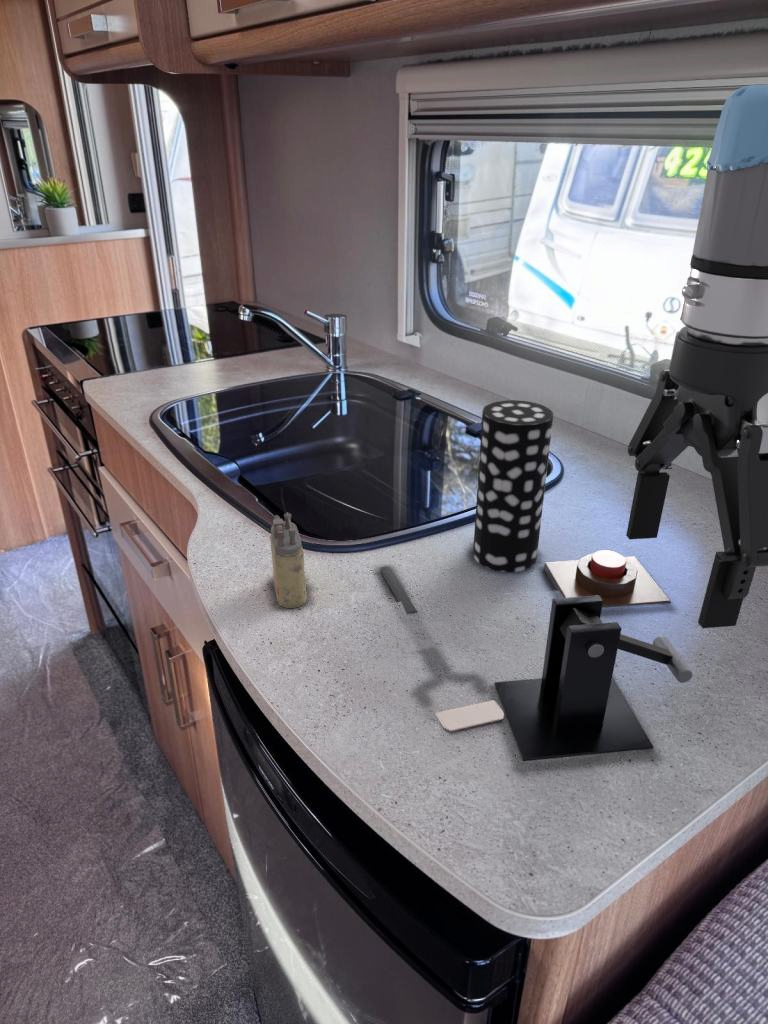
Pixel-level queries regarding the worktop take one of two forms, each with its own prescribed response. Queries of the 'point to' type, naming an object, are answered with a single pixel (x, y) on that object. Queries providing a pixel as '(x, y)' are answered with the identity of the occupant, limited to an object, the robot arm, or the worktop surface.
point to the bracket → (573, 693)
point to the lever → (637, 645)
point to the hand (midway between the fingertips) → (675, 576)
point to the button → (608, 564)
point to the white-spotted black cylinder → (511, 484)
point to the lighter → (288, 563)
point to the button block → (605, 583)
